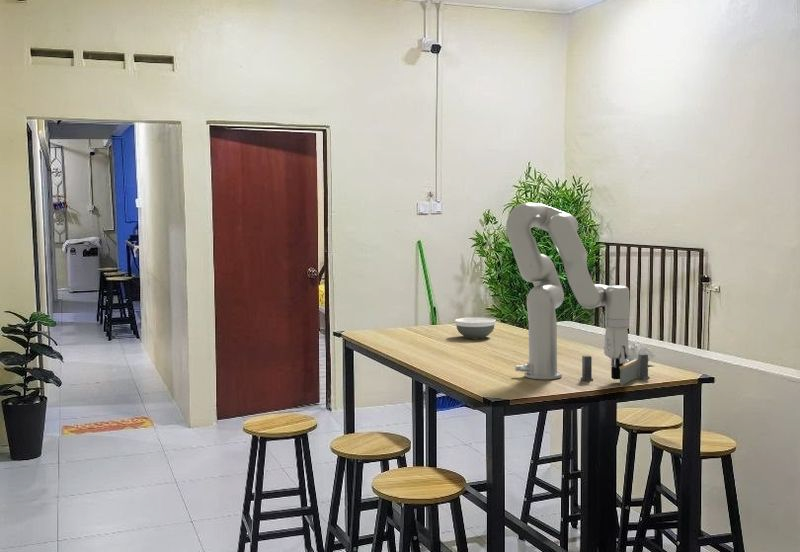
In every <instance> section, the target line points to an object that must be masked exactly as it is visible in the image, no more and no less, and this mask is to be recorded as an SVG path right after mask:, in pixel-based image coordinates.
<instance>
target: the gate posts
mask: <svg viewBox="0 0 800 552" xmlns="http://www.w3.org/2000/svg"><path fill="white" fill-rule="evenodd" d="M581 356H582V357H581V362H582V363H581V364H582V365H581V372H582V373H581V376H582V377H581V376H580V380H581V381H583V382H586V381H587V382H590V381H591V382H592V381H594V378H592V373H593V372H592V371H593V370H592V367H593V366H592V361H593V359H592V358H593V357H592V356H591V355H581ZM638 359H639V377H637V378H638V379H641V380H642V379H643V380H644V379H645V380H646V379H650V376H649V361H648V354H640V353H639V354H638Z"/></svg>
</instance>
